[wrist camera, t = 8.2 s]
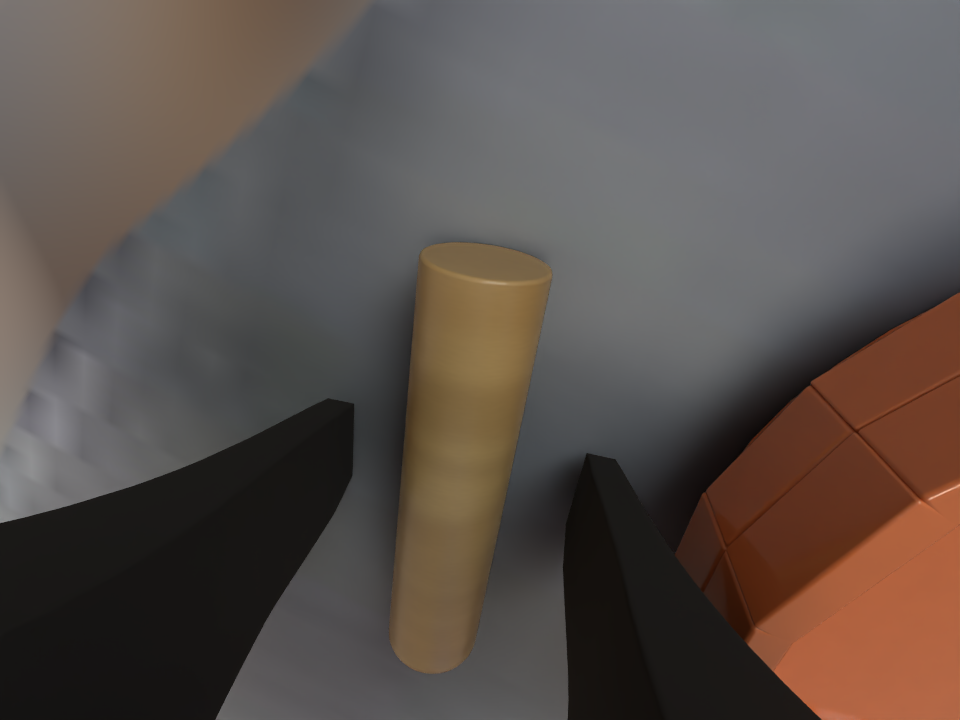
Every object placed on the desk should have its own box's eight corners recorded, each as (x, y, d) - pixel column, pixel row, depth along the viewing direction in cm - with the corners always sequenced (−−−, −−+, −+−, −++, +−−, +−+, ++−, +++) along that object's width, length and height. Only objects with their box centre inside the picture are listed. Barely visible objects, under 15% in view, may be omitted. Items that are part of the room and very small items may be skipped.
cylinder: (482, 602, 13) (467, 686, 11) (404, 583, 13) (375, 661, 11) (555, 255, 9) (550, 292, 7) (438, 234, 9) (401, 264, 7)
